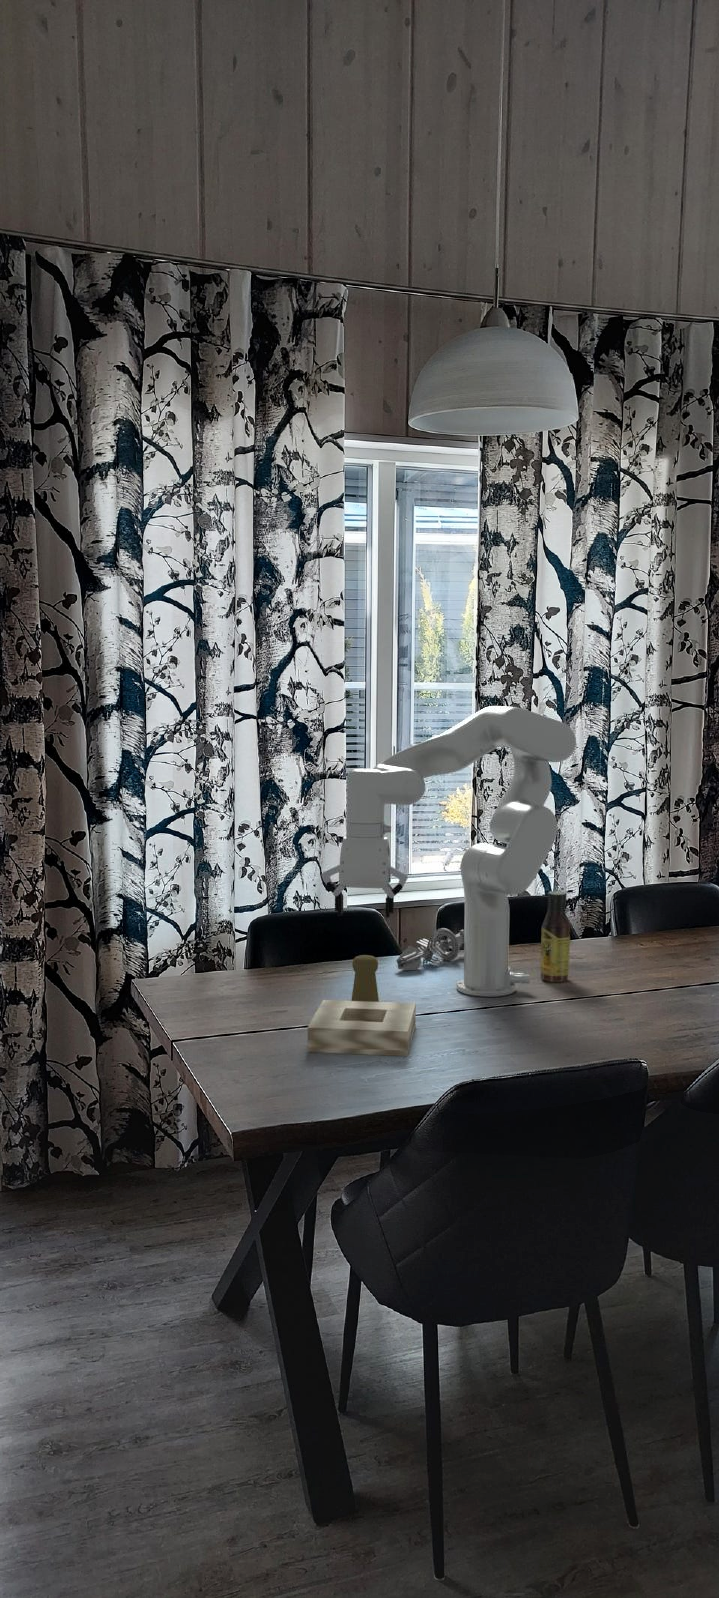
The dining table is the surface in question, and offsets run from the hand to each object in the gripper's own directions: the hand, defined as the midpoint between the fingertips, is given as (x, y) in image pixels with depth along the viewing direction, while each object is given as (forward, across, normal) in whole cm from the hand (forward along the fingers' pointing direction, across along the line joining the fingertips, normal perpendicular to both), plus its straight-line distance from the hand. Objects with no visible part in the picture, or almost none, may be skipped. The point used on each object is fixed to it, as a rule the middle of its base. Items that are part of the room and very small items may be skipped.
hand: (364, 915), depth 233 cm
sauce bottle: (+19, -39, -28) cm, 52 cm away
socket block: (+19, -2, +19) cm, 27 cm away
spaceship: (+19, -15, -43) cm, 49 cm away
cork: (+20, 0, 0) cm, 20 cm away
